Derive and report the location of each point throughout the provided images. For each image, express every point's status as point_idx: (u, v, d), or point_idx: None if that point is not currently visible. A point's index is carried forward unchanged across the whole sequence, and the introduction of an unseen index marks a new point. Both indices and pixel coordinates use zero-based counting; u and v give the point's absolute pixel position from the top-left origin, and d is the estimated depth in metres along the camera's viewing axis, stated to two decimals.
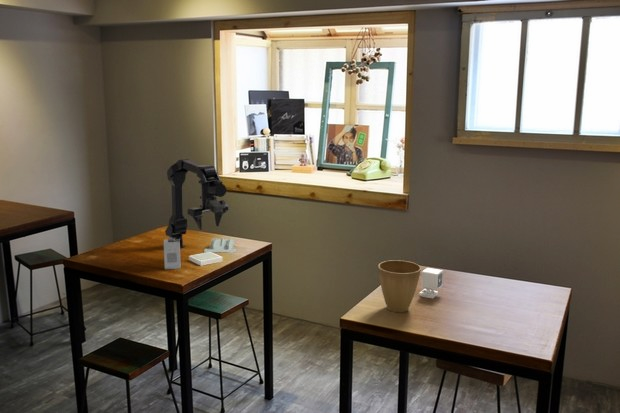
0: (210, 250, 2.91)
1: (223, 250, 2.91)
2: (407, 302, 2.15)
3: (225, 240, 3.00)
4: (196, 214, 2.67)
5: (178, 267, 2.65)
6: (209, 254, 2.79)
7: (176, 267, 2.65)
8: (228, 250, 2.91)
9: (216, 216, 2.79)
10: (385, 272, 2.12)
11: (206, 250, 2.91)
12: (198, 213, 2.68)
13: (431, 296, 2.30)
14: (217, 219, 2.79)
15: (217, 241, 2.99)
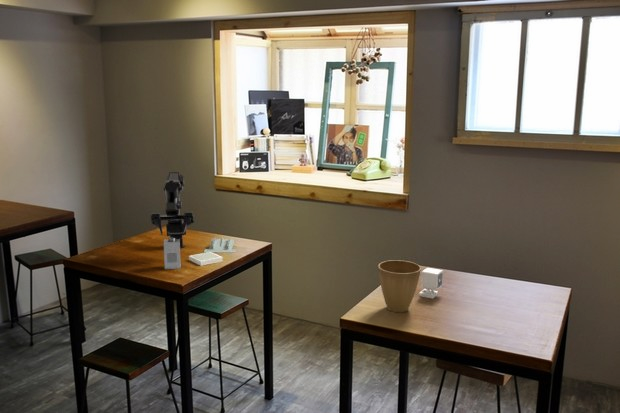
0: (210, 250, 2.91)
1: (223, 250, 2.91)
2: (407, 302, 2.15)
3: (225, 240, 2.99)
4: (152, 216, 2.72)
5: (178, 267, 2.65)
6: (209, 254, 2.79)
7: (176, 267, 2.65)
8: (228, 250, 2.91)
9: None
10: (385, 272, 2.12)
11: (206, 250, 2.91)
12: (155, 215, 2.73)
13: (431, 296, 2.30)
14: (183, 227, 2.74)
15: (217, 241, 2.99)
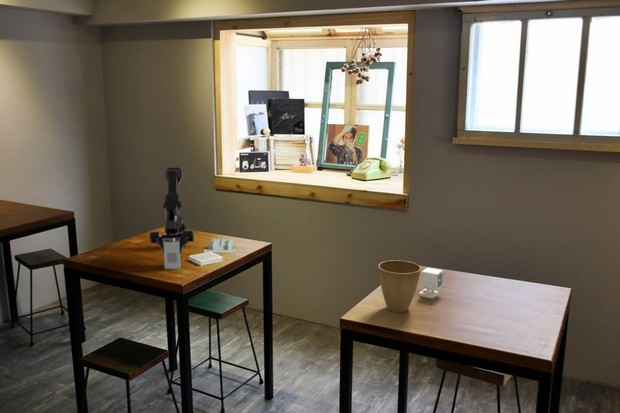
0: (209, 251, 2.90)
1: (222, 251, 2.90)
2: (407, 302, 2.15)
3: (224, 240, 2.99)
4: (151, 234, 2.65)
5: (178, 267, 2.65)
6: (209, 254, 2.79)
7: (176, 267, 2.65)
8: (227, 251, 2.90)
9: None
10: (385, 272, 2.12)
11: (205, 251, 2.90)
12: (154, 233, 2.66)
13: (431, 296, 2.30)
14: (180, 246, 2.67)
15: (216, 241, 2.98)
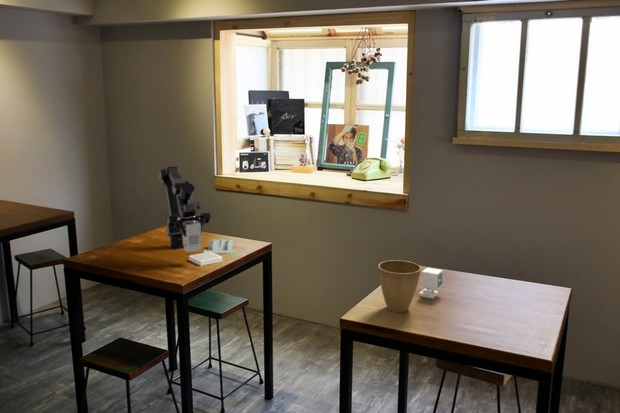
0: (209, 251, 2.90)
1: (222, 251, 2.90)
2: (407, 302, 2.15)
3: (224, 241, 2.98)
4: (171, 218, 2.66)
5: (199, 249, 2.70)
6: (209, 254, 2.79)
7: (198, 249, 2.70)
8: (227, 251, 2.90)
9: None
10: (385, 272, 2.12)
11: (205, 251, 2.90)
12: (173, 217, 2.67)
13: (431, 296, 2.30)
14: None
15: (216, 242, 2.97)
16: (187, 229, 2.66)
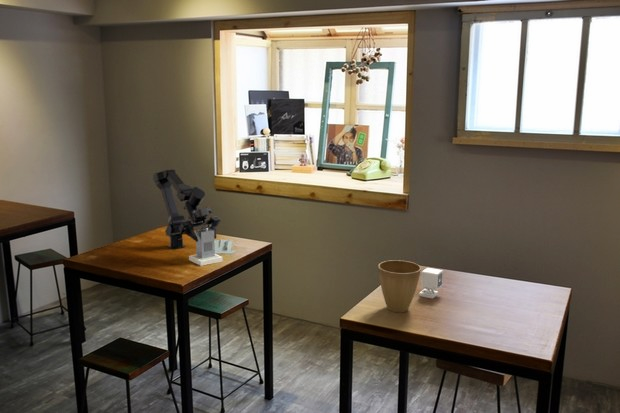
0: None
1: (222, 251, 2.89)
2: (407, 302, 2.15)
3: (223, 241, 2.97)
4: (185, 224, 2.70)
5: (213, 255, 2.76)
6: None
7: (212, 255, 2.76)
8: (227, 251, 2.89)
9: None
10: (385, 272, 2.12)
11: None
12: (187, 223, 2.71)
13: (431, 296, 2.30)
14: None
15: (215, 242, 2.97)
16: (202, 236, 2.71)
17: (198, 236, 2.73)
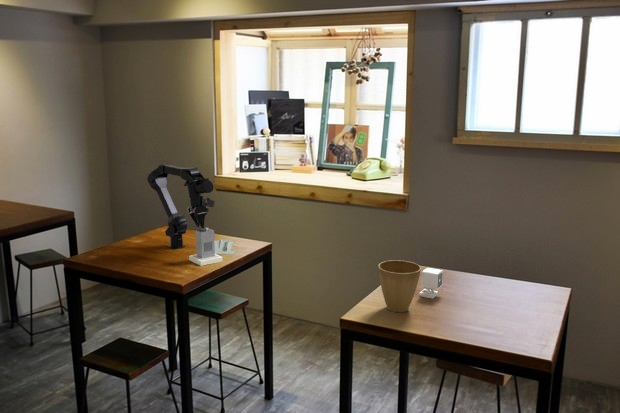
0: None
1: (222, 252, 2.88)
2: (407, 302, 2.15)
3: (223, 242, 2.97)
4: None
5: (213, 255, 2.76)
6: None
7: (212, 255, 2.76)
8: (227, 252, 2.88)
9: (195, 218, 2.90)
10: (385, 272, 2.12)
11: None
12: None
13: (431, 296, 2.30)
14: (197, 220, 2.91)
15: (215, 243, 2.96)
16: (202, 236, 2.71)
17: (198, 236, 2.73)
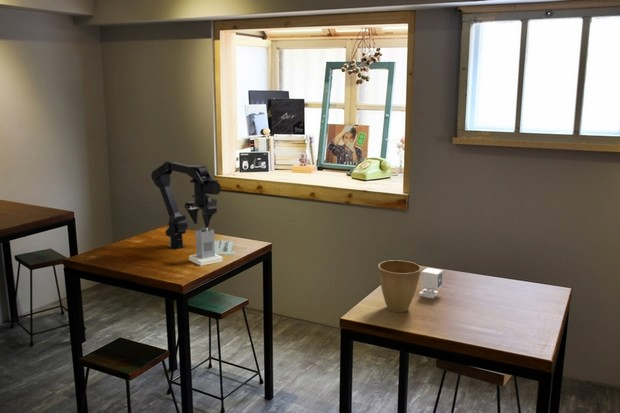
0: None
1: (222, 252, 2.88)
2: (407, 302, 2.15)
3: (224, 242, 2.96)
4: None
5: (213, 255, 2.76)
6: None
7: (212, 255, 2.76)
8: (227, 252, 2.88)
9: (193, 214, 2.90)
10: (385, 272, 2.12)
11: None
12: None
13: (431, 296, 2.30)
14: (195, 217, 2.91)
15: (216, 243, 2.95)
16: (202, 236, 2.71)
17: (198, 236, 2.73)
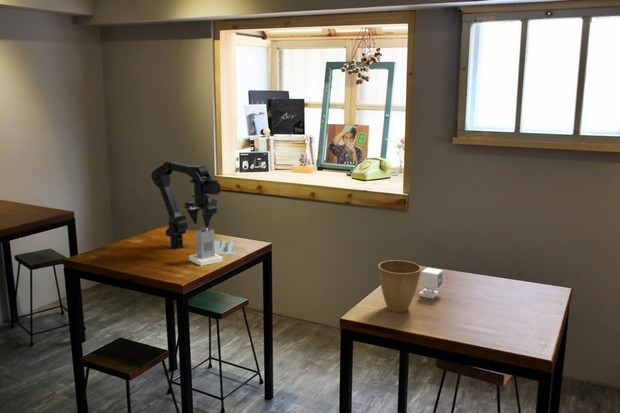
0: None
1: (222, 252, 2.88)
2: (407, 302, 2.15)
3: (225, 242, 2.96)
4: None
5: (213, 255, 2.76)
6: None
7: (212, 255, 2.76)
8: (227, 252, 2.87)
9: (193, 214, 2.90)
10: (385, 272, 2.12)
11: None
12: None
13: (431, 296, 2.30)
14: (195, 217, 2.91)
15: (216, 243, 2.95)
16: (202, 236, 2.71)
17: (198, 236, 2.73)
